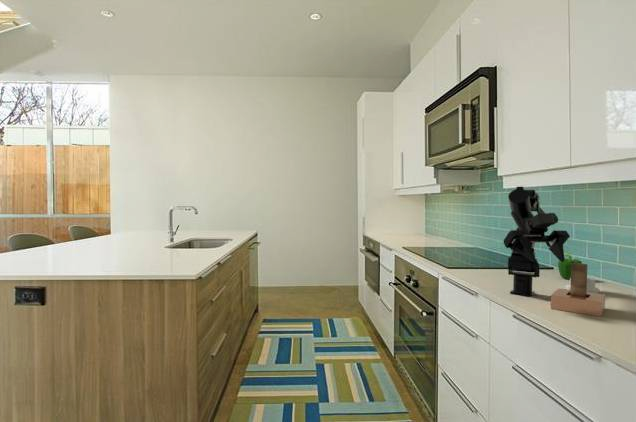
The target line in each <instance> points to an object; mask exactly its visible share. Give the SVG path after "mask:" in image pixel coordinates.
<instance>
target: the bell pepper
mask: <svg viewBox="0 0 636 422" xmlns="http://www.w3.org/2000/svg"><path fill="white" fill-rule="evenodd" d="M564 256H565V257H567V258H565V261H564V262H561V261H560V260H559V259H558V262H557V263H558V264H557V268H558V272H559V275H560V277H561V278H562V279H566V280H570V278H571V263H582V260H580V259H576V258H575V259H572V256H571V254H570V253H564ZM582 264H583V263H582Z"/></svg>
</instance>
